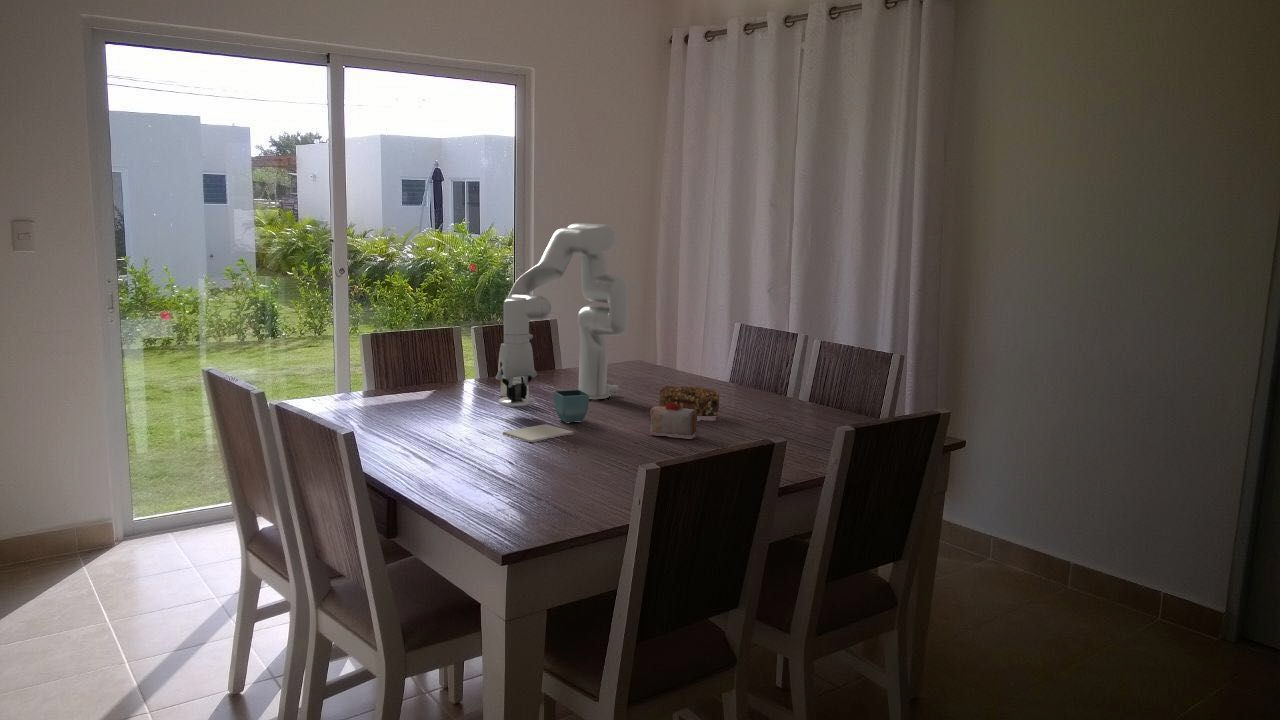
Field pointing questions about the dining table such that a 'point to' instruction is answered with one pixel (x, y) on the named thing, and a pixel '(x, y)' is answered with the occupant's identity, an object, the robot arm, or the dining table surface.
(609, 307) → the robot arm
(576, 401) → the flower pot
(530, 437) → the linen napkin
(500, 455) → the dining table surface
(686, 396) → the bread
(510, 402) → the lid
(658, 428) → the food item
